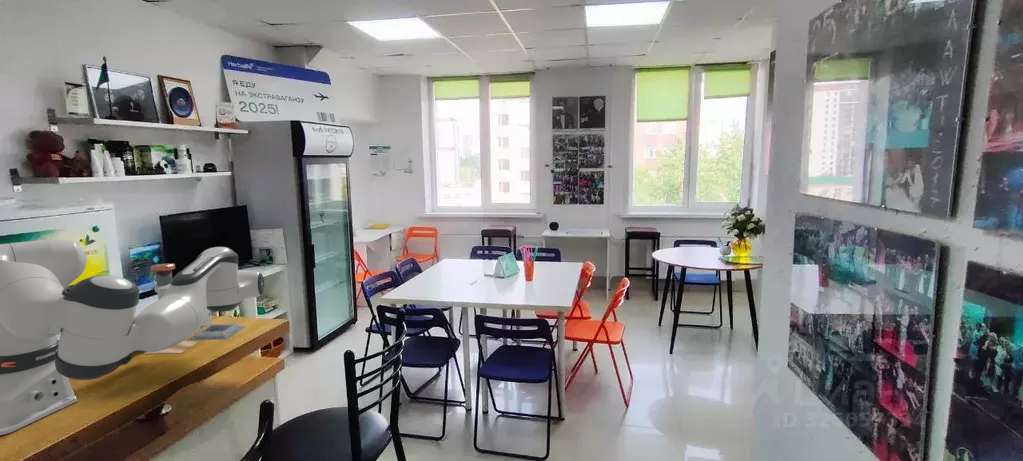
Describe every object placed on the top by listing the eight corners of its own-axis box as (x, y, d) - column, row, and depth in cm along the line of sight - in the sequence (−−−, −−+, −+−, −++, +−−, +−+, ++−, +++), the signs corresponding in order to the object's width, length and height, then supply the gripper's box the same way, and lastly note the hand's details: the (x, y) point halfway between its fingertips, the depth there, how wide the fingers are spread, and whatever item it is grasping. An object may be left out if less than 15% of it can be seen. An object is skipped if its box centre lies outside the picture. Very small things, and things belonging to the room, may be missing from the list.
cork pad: (180, 354, 146) (180, 352, 146) (142, 355, 146) (142, 353, 146) (200, 342, 156) (200, 340, 156) (164, 343, 156) (164, 341, 156)
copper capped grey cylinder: (172, 313, 147) (166, 267, 145) (151, 314, 146) (145, 267, 144) (184, 307, 153) (179, 263, 151) (164, 308, 152) (158, 263, 150)
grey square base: (227, 340, 158) (226, 334, 157) (186, 341, 157) (185, 335, 157) (247, 327, 171) (246, 321, 170) (208, 328, 170) (208, 322, 170)
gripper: (189, 305, 139) (139, 306, 139) (227, 287, 159) (183, 288, 159) (187, 283, 138) (136, 284, 138) (225, 268, 159) (181, 269, 158)
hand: (162, 286), depth 148 cm, fingers closed on copper capped grey cylinder, 4 cm apart
